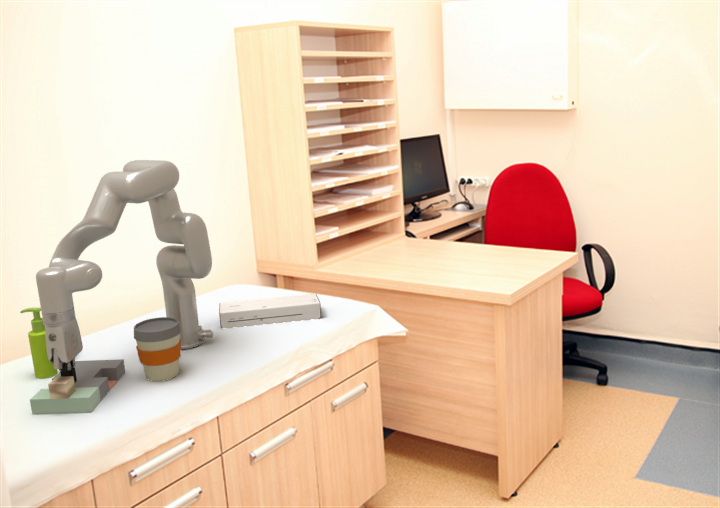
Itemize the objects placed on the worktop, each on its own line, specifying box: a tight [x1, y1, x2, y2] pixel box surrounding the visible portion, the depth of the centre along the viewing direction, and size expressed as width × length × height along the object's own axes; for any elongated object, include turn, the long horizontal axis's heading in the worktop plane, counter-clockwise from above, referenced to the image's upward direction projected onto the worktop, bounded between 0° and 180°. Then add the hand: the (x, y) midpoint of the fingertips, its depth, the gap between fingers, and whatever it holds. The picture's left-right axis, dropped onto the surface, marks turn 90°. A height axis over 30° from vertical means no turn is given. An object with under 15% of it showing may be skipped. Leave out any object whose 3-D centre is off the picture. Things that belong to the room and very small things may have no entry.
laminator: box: [218, 293, 322, 329], centre depth 228 cm, size 34×12×6 cm, turn 101°
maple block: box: [48, 376, 76, 399], centre depth 165 cm, size 4×4×4 cm
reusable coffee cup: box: [133, 316, 182, 382], centre depth 183 cm, size 13×12×15 cm
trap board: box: [29, 358, 126, 415], centre depth 176 cm, size 15×24×4 cm, turn 0°
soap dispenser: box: [19, 307, 59, 380], centre depth 186 cm, size 6×7×20 cm
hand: (69, 383), depth 170 cm, fingers closed
